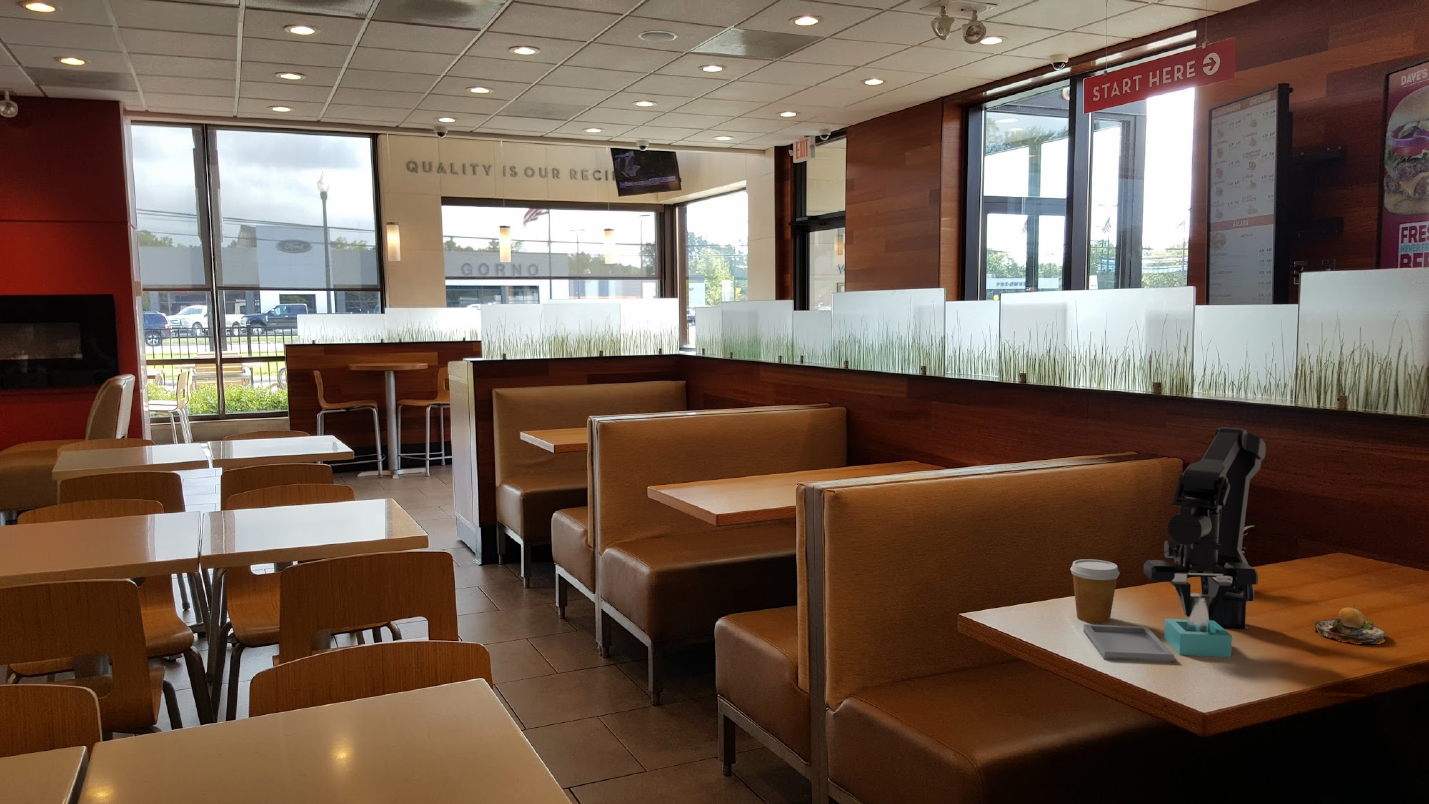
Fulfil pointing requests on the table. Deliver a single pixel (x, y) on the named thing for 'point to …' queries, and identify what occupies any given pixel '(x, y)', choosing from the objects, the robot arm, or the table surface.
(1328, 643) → the table surface
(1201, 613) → the steel pin
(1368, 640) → the burger
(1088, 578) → the disposable coffee cup
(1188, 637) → the teal square open box
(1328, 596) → the table surface
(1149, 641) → the charcoal tray
